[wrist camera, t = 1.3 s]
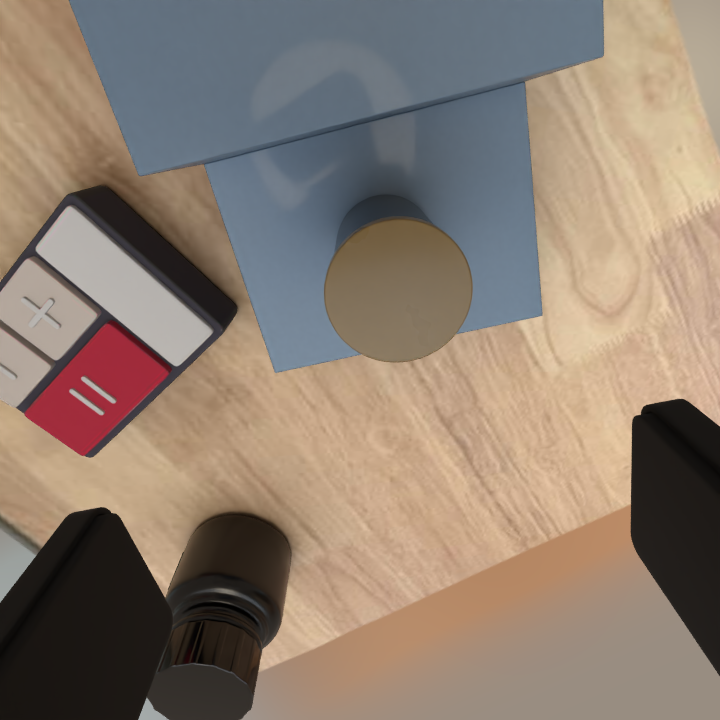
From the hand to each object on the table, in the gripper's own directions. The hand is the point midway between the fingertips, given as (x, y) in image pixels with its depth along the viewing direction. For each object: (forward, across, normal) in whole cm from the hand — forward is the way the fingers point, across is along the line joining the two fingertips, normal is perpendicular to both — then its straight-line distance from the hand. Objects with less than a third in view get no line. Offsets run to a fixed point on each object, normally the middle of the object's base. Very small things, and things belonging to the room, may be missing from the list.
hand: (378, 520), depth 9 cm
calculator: (+24, +18, +1) cm, 31 cm away
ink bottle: (+25, +16, +23) cm, 38 cm away
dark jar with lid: (+19, -1, -1) cm, 19 cm away
